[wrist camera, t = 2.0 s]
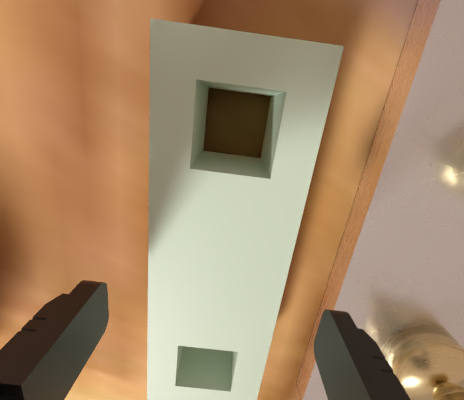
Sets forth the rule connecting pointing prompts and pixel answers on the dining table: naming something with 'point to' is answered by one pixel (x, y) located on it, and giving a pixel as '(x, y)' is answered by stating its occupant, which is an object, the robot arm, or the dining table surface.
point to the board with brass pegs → (410, 220)
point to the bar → (225, 203)
